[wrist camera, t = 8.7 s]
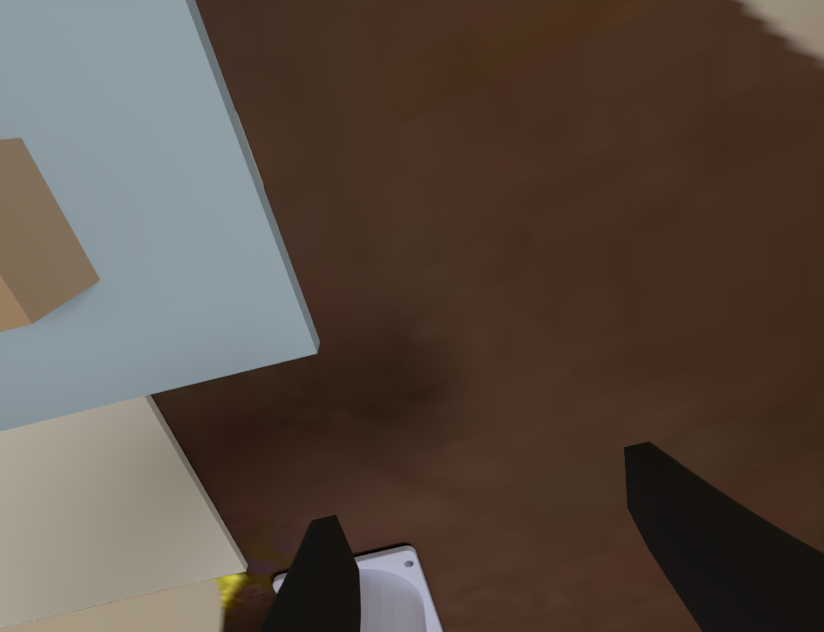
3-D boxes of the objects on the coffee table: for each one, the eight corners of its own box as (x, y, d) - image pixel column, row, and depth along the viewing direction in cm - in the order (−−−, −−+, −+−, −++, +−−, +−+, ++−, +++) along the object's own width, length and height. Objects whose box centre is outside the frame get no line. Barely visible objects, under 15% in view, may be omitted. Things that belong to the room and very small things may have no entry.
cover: (320, 342, 16) (304, 408, 13) (-14, 424, 16) (-118, 510, 13) (158, -101, 11) (57, -193, 8) (-316, 34, 11) (-617, 4, 8)
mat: (247, 564, 26) (246, 571, 25) (5, 620, 26) (0, 628, 26) (121, 344, 20) (117, 349, 19) (-187, 422, 20) (-198, 428, 20)
